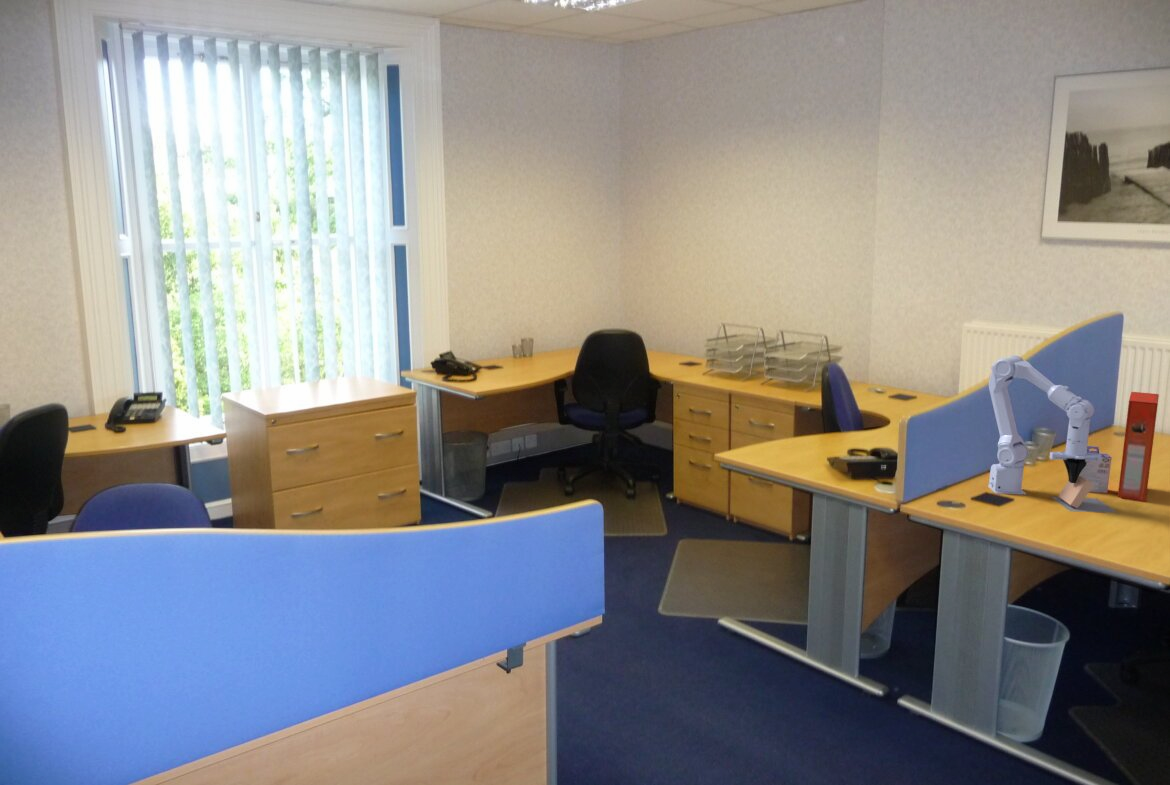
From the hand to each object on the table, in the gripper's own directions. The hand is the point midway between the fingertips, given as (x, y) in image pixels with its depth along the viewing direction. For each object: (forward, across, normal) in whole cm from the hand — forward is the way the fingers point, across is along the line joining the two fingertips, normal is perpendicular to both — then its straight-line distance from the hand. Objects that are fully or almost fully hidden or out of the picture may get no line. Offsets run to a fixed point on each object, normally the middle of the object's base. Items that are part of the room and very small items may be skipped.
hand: (1072, 482), depth 288 cm
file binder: (+8, +26, +15) cm, 31 cm away
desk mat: (+7, +4, 0) cm, 9 cm away
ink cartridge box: (+8, +13, +17) cm, 23 cm away
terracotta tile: (+7, -1, 0) cm, 7 cm away
